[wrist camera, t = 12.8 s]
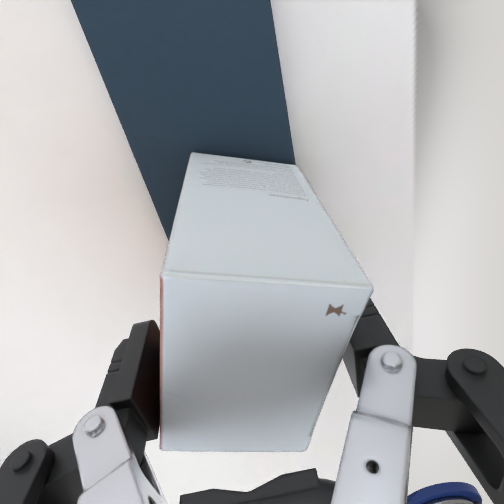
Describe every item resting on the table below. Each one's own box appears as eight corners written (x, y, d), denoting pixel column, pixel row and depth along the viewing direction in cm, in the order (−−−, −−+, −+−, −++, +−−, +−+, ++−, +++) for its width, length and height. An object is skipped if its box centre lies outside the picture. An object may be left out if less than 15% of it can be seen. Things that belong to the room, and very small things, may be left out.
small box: (190, 148, 17) (156, 267, 8) (300, 162, 18) (382, 285, 9) (183, 279, 21) (154, 457, 12) (272, 286, 22) (308, 457, 13)
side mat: (318, 323, 25) (320, 329, 25) (213, 346, 25) (213, 352, 25) (257, -71, 14) (259, -75, 13) (67, -19, 14) (61, -21, 13)
